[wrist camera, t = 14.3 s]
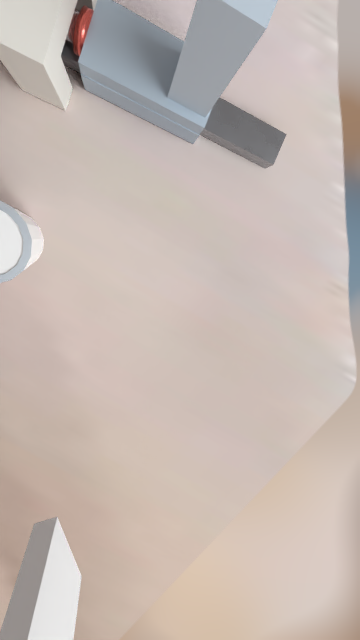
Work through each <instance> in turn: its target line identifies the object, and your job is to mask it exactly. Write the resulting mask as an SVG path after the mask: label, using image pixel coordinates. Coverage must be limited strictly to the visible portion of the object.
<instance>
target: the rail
mask: <svg viewBox="0 0 360 640" xmlns="http://www.w3.org/2000/svg"><path fill="white" fill-rule="evenodd" d="M79 57H80V56H78V55H76V54H74V51H73V43H71V42H70V41H68V40H65V44H64V47H63V50H62V54H61V58H62V61H63V64H64V65H65V66H67V67H69V68H71V69H73V70H75V71H77V72H79V73H81V71H80V67H79V64H78V60H79ZM200 135H201V136H203V137H205V138H207V139H209V140H211V141H213V142H215V143H217V144H219V145H221V146H223V147H225V148H227V149H229V150H231V151H232V152H234V153H236V154H238V155H240V156H242V157H244V158H246V159H248V160H250V161H252V162H254V163H256V164H258V165H260V166H262V167H264V168H267V167H269V166H272V165H273V164H274V162H275V160H276V157H277V155H278V153H279V150H280V148H281V146H282V143H283V141H284V139H285V136H286V134H285V133H283V132H281V131H279V130H278V129H276V128H274V127H272V126H270V125H269V124H267V123H265V122H263V121H261V120H259V119H258V118H256V117H254V116H252V115H250V114H249V113H247V112H245V111H243V110H241V109H240V108H238V107H236V106H234V105H232V104H230V103H229V102H227V101H225V100H223V99H221V98H220V97H219V98H218V100H217V101H216V103H215V104H214V106H213V107H212V110H211V112H210V115H209V118H208V120H207V123H206V125H205V128H204V129H203V131H202V132H201V133H200Z"/></svg>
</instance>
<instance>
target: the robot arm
mask: <svg viewBox="0 0 360 640" xmlns="http://www.w3.org/2000/svg"><path fill="white" fill-rule="evenodd" d="M80 584H81V574H80V572H79V569H78V567H77V564H76V562H75V559H74V557H73V554H72V552H71V549H70V547H69V545H68V542H67V540H66V537H65V535H64V532H63V530H62V527H61V525H60V522H59V520H58V517H55V518H52V519H48V520H45V521H42V522H38V523H35V524H34V526H33V530H32V533H31V536H30V539H29V542H28V545H27V549H26V552H25V555H24V558H23V561H22V564H21V568H20V571H19V574H18V577H17V580H16V584H15V587H14V590H13V593H12V596H11V599H10V603H9V606H8V609H7V612H6V615H5V618H4V622H3V625H2V628H1V631H0V640H73V638H74V630H75V623H76V615H77V607H78V599H79V592H80Z"/></svg>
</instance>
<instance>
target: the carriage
mask: <svg viewBox="0 0 360 640" xmlns="http://www.w3.org/2000/svg"><path fill="white" fill-rule="evenodd" d="M277 1H278V0H197V2H196V5H195V8H194V12H193V15H192V18H191V22H190V25H189V28H188V31H187V35H186V38H185V41H182V40H180V39H178V38H177V37H175V36H173V35H171V34H170V33H168V32H166V31H165V30H163V29H161V28H159V27H158V26H156V25H154V24H152V23H151V22H149V21H147V20H146V19H144V18H142V17H140V16H139V15H137V14H135V13H133V12H132V11H130V10H128V9H127V8H125V7H123V6H121V5H120V4H118V3H116V2H114V1H113V0H97V3H96V6H95V9H94V12H93V16H92V19H91V22H90V25H89V28H88V32H87V35H86V38H85V41H84V44H83V48H82V51H81V54H80V57H79V60H78V64H79V67H80V71H81V77H82V81H83V84H84V88H85V90H87V91H89V92H91V93H93V94H95V95H97V96H99V97H101V98H103V99H105V100H107V101H109V102H111V103H113V104H115V105H117V106H119V107H121V108H123V109H124V110H126V111H128V112H130V113H132V114H134V115H136V116H138V117H140V118H142V119H144V120H146V121H148V122H150V123H152V124H154V125H156V126H158V127H160V128H162V129H164V130H166V131H168V132H170V133H172V134H174V135H176V136H178V137H180V138H182V139H184V140H186V141H188V142H190V143H192V144H193V143H194V142H195V141H196V139H197V138H198V137H199V135H200V133H201V132H202V131H203V129H204V128H205V125H206V123H207V120H208V118H209V115H210V112H211V110H212V107H213V106H214V104H215V103H216V101H217V100H218V98H219V97H220V95H221V94H222V93H223V91H224V90H225V88H226V87H227V85H228V84H229V82H230V81H231V79H232V78H233V77H234V75H235V74H236V72H237V71H238V69H239V68H240V66H241V65H242V63H243V62H244V61H245V59H246V58H247V56H248V55H249V53H250V52H251V50H252V49H253V47H254V46H255V44H256V43H257V42H258V40H259V39H260V37H261V36H262V34H263V33H264V31H265V30H266V28H267V26H268V23H269V21H270V18H271V16H272V13H273V11H274V8H275V6H276V3H277Z"/></svg>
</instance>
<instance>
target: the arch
mask: <svg viewBox="0 0 360 640" xmlns="http://www.w3.org/2000/svg"><path fill="white" fill-rule="evenodd" d="M96 3H97V0H0V60H1V62H2V63H3V64H4V66H5V67H6V69H7V70H8V71H9V73H10V74H11V75H12V77H13V78H14V80H15V81H16V82H17V84H18V85H19V87H20V88H21V89H22V90H23V91H25V92H27V93H29V94H31V95H34V96H36V97H38V98H40V99H42V100H44V101H46V102H48V103H50V104H52V105H54V106H56V107H58V108H60V109H63V110H65V111H66V109H67V106H68V103H69V100H70V96H71V93H72V90H73V88H72V85H71V83H70V80H69V77H68V75H67V72H66V69H65V66H64V64H63V61H62V58H61V54H62V50H63V47H64V44H65V40H66V37H67V34H68V30H69V27H70V24H71V20H72V17H73V14H74V11H75V9H76V10H78V11H80V10H81V8H82V7H83V6H84V5H85V6H87V7H89V8H90V9H92V10H94V9H95V6H96Z"/></svg>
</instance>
